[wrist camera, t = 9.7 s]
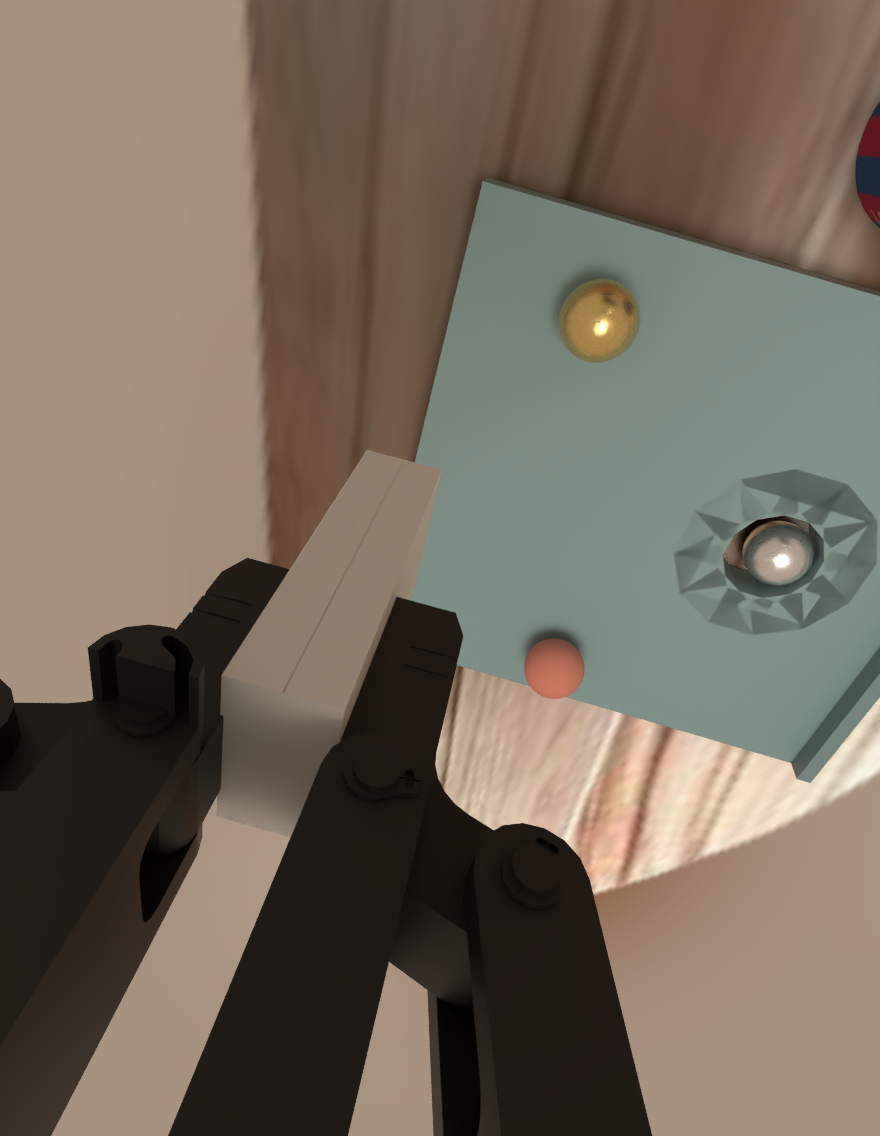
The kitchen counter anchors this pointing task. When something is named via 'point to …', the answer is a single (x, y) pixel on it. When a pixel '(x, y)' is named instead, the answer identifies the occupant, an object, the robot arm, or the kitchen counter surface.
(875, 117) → the mug
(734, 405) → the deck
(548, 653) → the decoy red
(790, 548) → the steel ball
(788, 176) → the kitchen counter surface
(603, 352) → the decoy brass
